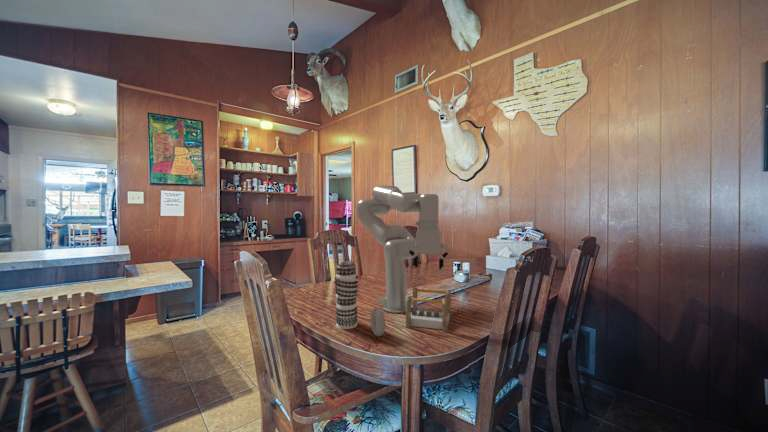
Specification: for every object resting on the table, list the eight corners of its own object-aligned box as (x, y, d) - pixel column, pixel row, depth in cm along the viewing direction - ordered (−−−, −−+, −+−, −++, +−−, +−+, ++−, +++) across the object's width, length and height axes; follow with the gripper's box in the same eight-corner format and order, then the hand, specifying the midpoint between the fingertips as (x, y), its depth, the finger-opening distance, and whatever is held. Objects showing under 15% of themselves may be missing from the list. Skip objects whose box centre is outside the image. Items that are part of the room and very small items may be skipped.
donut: (386, 340, 107) (386, 312, 107) (377, 341, 106) (377, 313, 105) (378, 329, 116) (377, 303, 116) (369, 330, 115) (369, 304, 115)
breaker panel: (408, 325, 120) (408, 313, 120) (413, 316, 130) (413, 305, 129) (446, 329, 116) (446, 317, 115) (449, 320, 125) (449, 308, 125)
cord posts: (405, 327, 118) (405, 297, 117) (413, 314, 132) (413, 287, 132) (447, 332, 113) (447, 300, 113) (451, 318, 127) (451, 289, 127)
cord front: (409, 300, 117) (409, 298, 117) (409, 300, 118) (409, 297, 118) (443, 303, 114) (443, 301, 114) (443, 303, 115) (443, 300, 114)
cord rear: (416, 291, 130) (416, 289, 130) (416, 291, 131) (416, 288, 131) (447, 294, 126) (447, 291, 126) (447, 293, 127) (447, 291, 127)
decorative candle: (342, 319, 127) (341, 259, 126) (362, 322, 124) (361, 260, 123) (330, 327, 119) (329, 263, 118) (351, 330, 115) (350, 265, 114)
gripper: (405, 225, 120) (405, 268, 121) (450, 226, 115) (449, 271, 116) (409, 224, 127) (409, 264, 128) (451, 225, 122) (451, 267, 123)
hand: (428, 267), depth 122 cm, fingers open, 9 cm apart
